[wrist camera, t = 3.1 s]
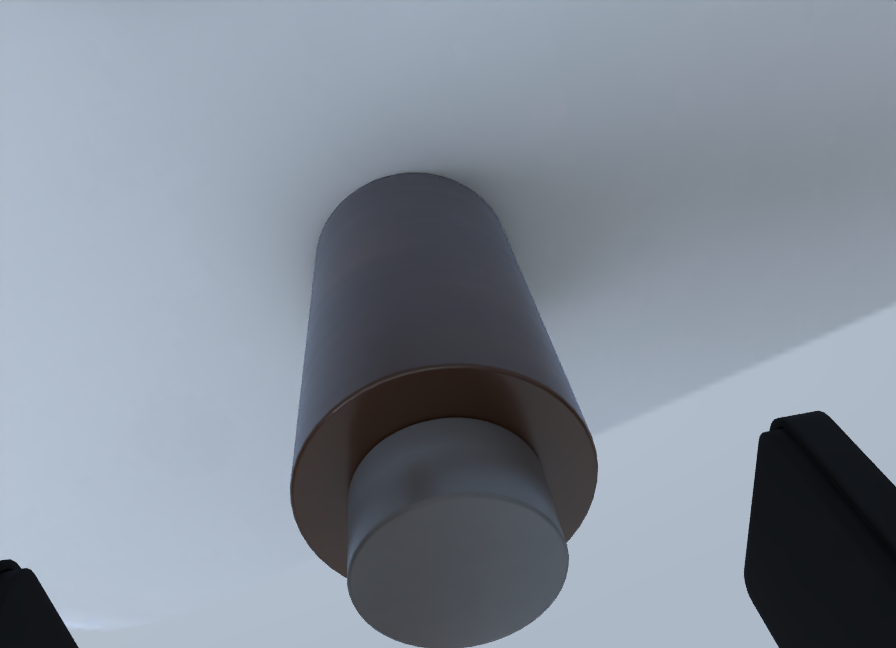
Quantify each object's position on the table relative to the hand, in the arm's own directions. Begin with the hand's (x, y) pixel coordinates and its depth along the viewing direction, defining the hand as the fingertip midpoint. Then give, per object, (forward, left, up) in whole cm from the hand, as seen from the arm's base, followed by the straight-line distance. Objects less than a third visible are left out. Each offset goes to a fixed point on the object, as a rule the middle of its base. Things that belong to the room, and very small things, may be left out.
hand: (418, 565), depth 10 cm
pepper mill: (-1, 0, -9) cm, 9 cm away
